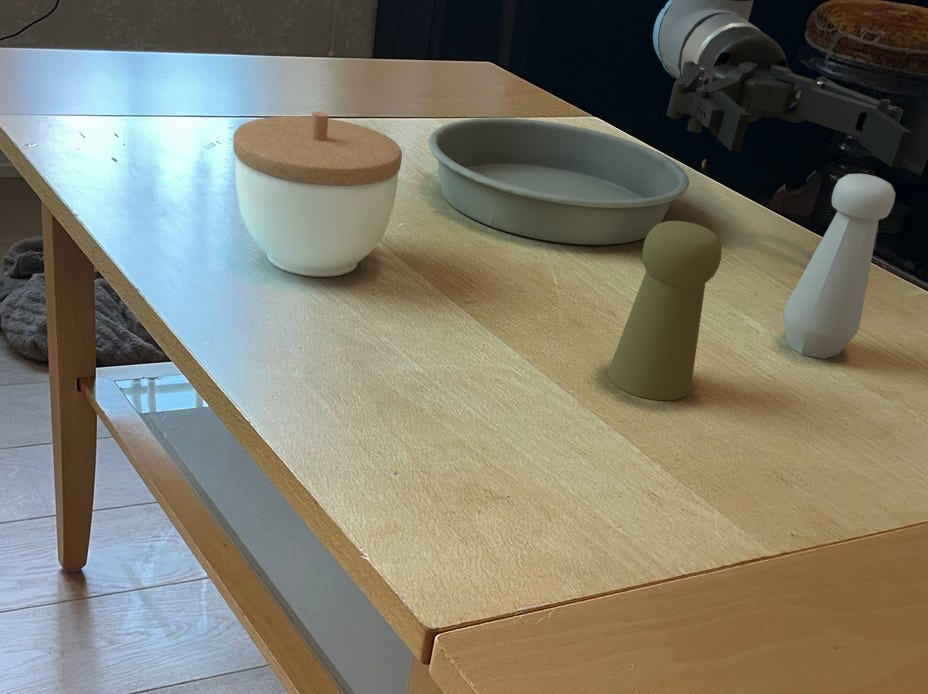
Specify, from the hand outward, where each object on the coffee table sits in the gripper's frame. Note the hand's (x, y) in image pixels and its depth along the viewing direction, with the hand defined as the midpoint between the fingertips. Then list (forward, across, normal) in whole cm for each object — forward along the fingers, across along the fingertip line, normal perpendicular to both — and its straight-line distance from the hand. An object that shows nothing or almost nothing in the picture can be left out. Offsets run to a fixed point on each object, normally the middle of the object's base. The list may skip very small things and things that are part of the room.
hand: (822, 142), depth 90 cm
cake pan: (-20, +15, -13) cm, 29 cm away
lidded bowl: (-2, +39, -13) cm, 41 cm away
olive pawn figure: (+16, +15, -13) cm, 26 cm away
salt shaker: (+9, 0, -13) cm, 16 cm away
